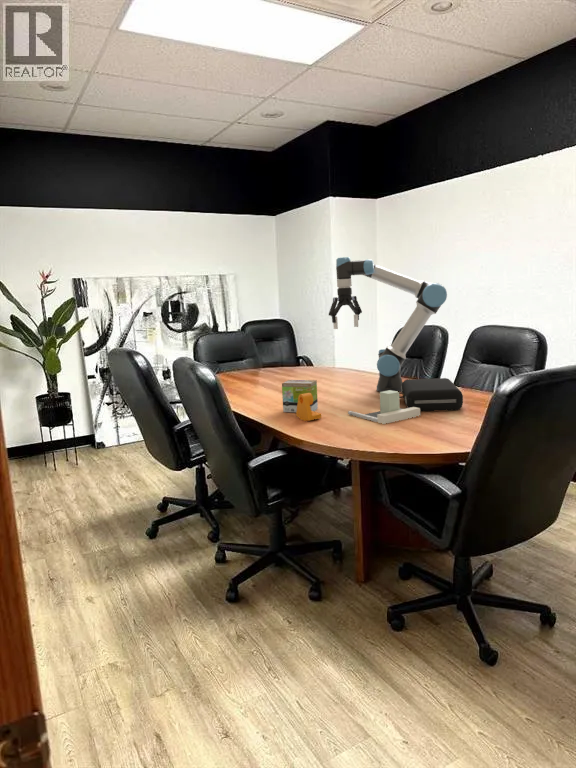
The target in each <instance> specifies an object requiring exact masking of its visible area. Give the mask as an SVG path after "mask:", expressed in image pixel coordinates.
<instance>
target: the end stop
mask: <svg viewBox="0 0 576 768" xmlns="http://www.w3.org/2000/svg"><path fill="white" fill-rule="evenodd" d="M419 415H420V416H421V411H420V408H417V407H411V408H407V407H406V408H402V409H401V410H397V411H392V412H387V413H382V414H378V415H377V422H378V424H381V423H382V425H386V423H387V424H390V423H395V421H396V422H399V420H400V421H403V420H404V421H405V420H408V418H409V419H413V418H417V417H416V416H418V417H420V416H419ZM412 417H413V418H412ZM377 422H376V423H377Z"/></svg>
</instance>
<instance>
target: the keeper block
mask: <svg viewBox="0 0 576 768" xmlns="http://www.w3.org/2000/svg"><path fill="white" fill-rule="evenodd" d="M399 392H400V391H399ZM399 392H398V391H392V390H388V391H383V392H379V408H380V409H379V410H380V414H382V413H387V412H392V411H397V410H400V408H401V407H400V398H399V396H400V394H399Z"/></svg>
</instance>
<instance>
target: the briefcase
mask: <svg viewBox="0 0 576 768" xmlns="http://www.w3.org/2000/svg"><path fill="white" fill-rule="evenodd" d="M402 382H403V383H402V386H401V391H399V399H403V400H404V402H405V405H406V408H411V407H417V408H420V412H435V411H434V410H448V411H458V410H460V409H461V408H462V407H463V404H464V395H463V393H462V391H461V390H460V389H459V388H458V387H457V386H456V384H455V383H453V382H452V380H451V379H449V378H446V377H441V378H440V377H438V378H412V379H410V378H409V379H405V380H404V381H402Z"/></svg>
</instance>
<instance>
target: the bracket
mask: <svg viewBox="0 0 576 768" xmlns="http://www.w3.org/2000/svg"><path fill="white" fill-rule="evenodd" d="M311 404H313V396H312V394H311V393H305V394H300V395H299V397H298V404H297V411H296V412H295V413H296V417H297V418H299V420H301V421H303V422H308V421H314V419H315V420H319V419H322V413H320V412H317V411H311V408H310V405H311Z"/></svg>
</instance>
